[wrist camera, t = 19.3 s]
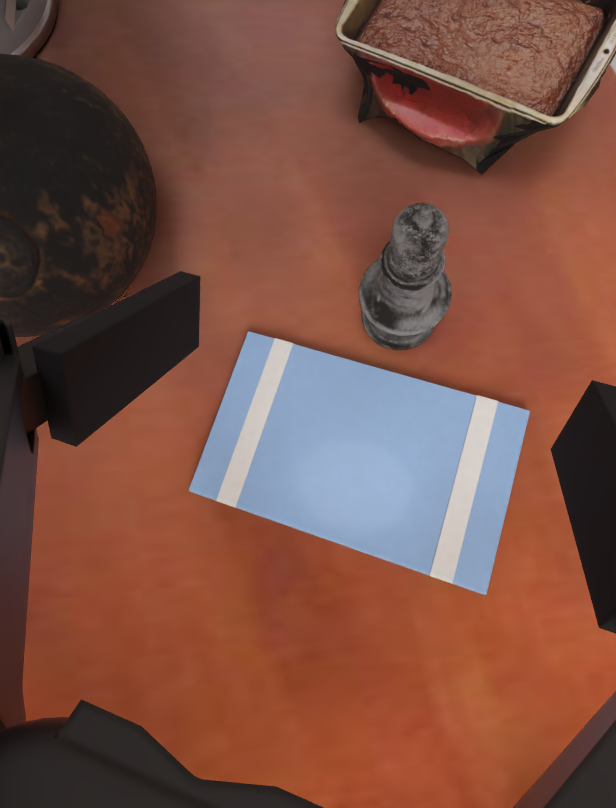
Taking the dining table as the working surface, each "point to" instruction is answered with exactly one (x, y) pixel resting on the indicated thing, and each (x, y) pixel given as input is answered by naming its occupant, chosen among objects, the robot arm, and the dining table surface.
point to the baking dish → (478, 66)
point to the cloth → (365, 458)
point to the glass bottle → (67, 197)
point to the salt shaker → (408, 280)
